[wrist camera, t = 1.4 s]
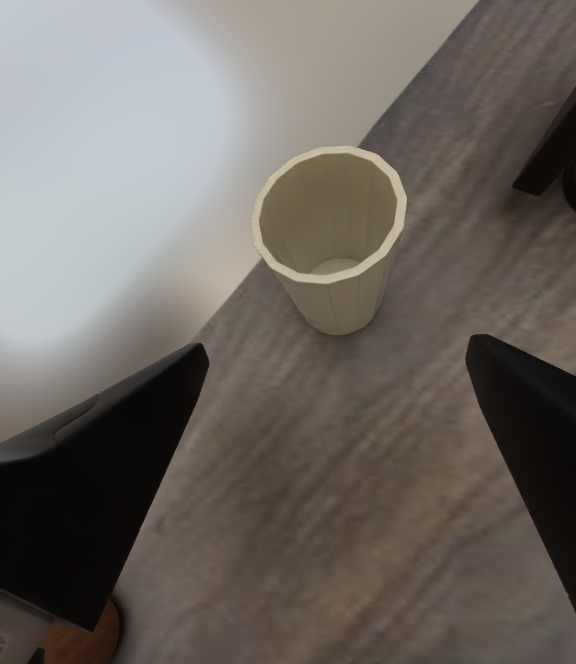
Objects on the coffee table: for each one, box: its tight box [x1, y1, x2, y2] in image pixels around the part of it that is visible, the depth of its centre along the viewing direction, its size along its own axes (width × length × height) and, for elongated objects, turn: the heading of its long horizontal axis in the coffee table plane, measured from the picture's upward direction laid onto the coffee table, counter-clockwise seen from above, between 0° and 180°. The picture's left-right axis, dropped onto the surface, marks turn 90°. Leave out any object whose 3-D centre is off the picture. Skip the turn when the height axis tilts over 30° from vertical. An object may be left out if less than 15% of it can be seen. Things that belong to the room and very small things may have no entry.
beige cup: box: [251, 146, 407, 335], centre depth 17 cm, size 7×7×11 cm
